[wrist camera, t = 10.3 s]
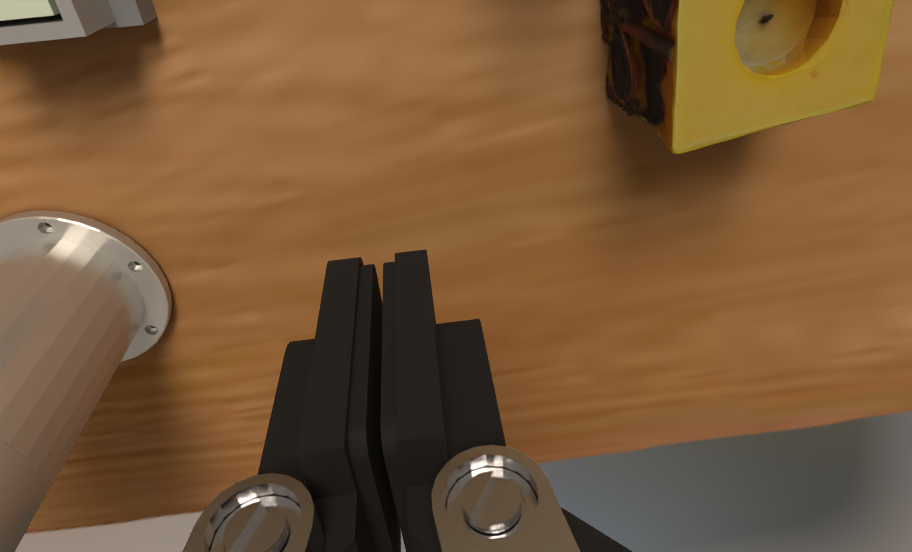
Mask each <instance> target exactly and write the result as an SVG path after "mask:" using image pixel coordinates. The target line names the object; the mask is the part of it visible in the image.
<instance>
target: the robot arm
mask: <svg viewBox="0 0 912 552" xmlns="http://www.w3.org/2000/svg"><path fill="white" fill-rule="evenodd" d="M171 310H172V299H171V292H170V289H169V286H168V283H167V280H166V278H165V276H164V274H163V273H162V271H161V269H160V268H159V266H158V265H157V263H156V262H155V261H154V260H153V259H152V258H151V257H150V255H149V254H148V253H147V252H146V251H145V250H144V249H143V248H141V247H140V246H139V245H138V244H137V243H135V242H134V241H133V240H132V239H130V238H129V237H127V236H126V235H124V234H122V233H121V232H119V231H117V230H116V229H114V228H112V227H110V226H108V225H105V224H103V223H101V222H99V221H96V220H94V219H90V218H87V217H84V216H80V215H77V214H73V213H66V212H59V211H29V212H23V213H17V214H13V215H11V216H8V217H6V218H3V219H1V220H0V552H15V550H16V548H17V546H18V545H19V543H20V541H21V539H22V537H23V536H24V534H25V532H26V530H27V528H28V527H29V525H30V523H31V521H32V519H33V518H34V516H35V514H36V512H37V510H38V509H39V507H40V505H41V503H42V502H43V500H44V498H45V496H46V495H47V493H48V491H49V489H50V487H51V485H52V484H53V482H54V480H55V479H56V477H57V475H58V473H59V471H60V470H61V468H62V466H63V464H64V462H65V461H66V459H67V457H68V455H69V454H70V452H71V450H72V448H73V446H74V445H75V443H76V441H77V439H78V437H79V436H80V434H81V432H82V430H83V428H84V427H85V425H86V423H87V421H88V419H89V418H90V416H91V414H92V412H93V411H94V409H95V407H96V405H97V403H98V402H99V400H100V398H101V396H102V394H103V393H104V391H105V389H106V387H107V385H108V384H109V382H110V380H111V378H112V376H113V375H114V373H115V371H116V369H117V368H118V366H119V364H120V362H123V361H126V360H129V359H132V358H135V357H137V356H139V355H141V354H142V353H144V352H146V351H148V350H149V349H150V348H151V347H152V346H153V345H154V344H155V343H157V342H158V340H159V339H160V337H161V335H162V334H163V332H164V331H165V329H166V326H167V324H168V322H169V320H170V316H171ZM400 528H401V529H400ZM401 532H402V536H403V540H404V544H405V549H406V552H632V551H630V550H628V549H627V548H626V547H624V546H622V545H621V544H619V543H618V542H616V541H614V540H613V539H611V538H610V537H608V536H606V535H604V534H603V533H601V532H600V531H598V530H597V529H595V528H593V527H592V526H590V525H589V524H587V523H585V522H584V521H582V520H580V519H579V518H577V517H576V516H574V515H573V514H571V513H569V512H568V511H566V510H565V509H563V508H561V507H560V505H559V503H558V501H557V498H556V496H555V494H554V492H553V489H552V487H551V485H550V483H549V481H548V478H547V477H546V475H545V474H544V472H543V471H542V469H541V468H540V466H539V465H538V464H537V463H536V462H535V461H533V460H532V459H531V458H530V457H528V456H527V455H526V454H524V453H522V452H520V451H517V450H515V449H513V448H510V447H506V444H505V439H504V434H503V429H502V424H501V419H500V414H499V410H498V405H497V400H496V395H495V390H494V385H493V380H492V375H491V370H490V366H489V361H488V356H487V351H486V346H485V341H484V336H483V331H482V327H481V322H480V320H479V319H474V320H466V321H457V322H449V323H441V324H436V320H435V312H434V304H433V296H432V289H431V281H430V273H429V265H428V258H427V251H426V250H418V251H410V252H401V253H395V262H388V263H384V264H383V304H382V299H381V294H380V289H379V283H378V278H377V273H376V268H375V265H374V264H371V265H363V261H362V259H361V257H359V258H350V259H342V260H333V261H328V263H327V268H326V274H325V280H324V286H323V292H322V298H321V305H320V311H319V317H318V323H317V329H316V335H315V339H309V340H301V341H293V342H290V343H289V344H288V345H287V348H286V351H285V355H284V359H283V364H282V368H281V373H280V377H279V382H278V386H277V391H276V395H275V400H274V404H273V409H272V413H271V418H270V422H269V427H268V431H267V436H266V440H265V444H264V449H263V453H262V458H261V462H260V467H259V471H258V475H254V476H252V477H249V478H247V479H244V480H241V481H239V482H236V483H235V484H233V485H232V486H230V487H229V488H227V489H226V490H224V491H223V492H221V493H220V494H219V495H218V496H217V497H216V498H215V499H214V500H213V501H212V502H211V503H210V504H209V505H208V506H207V507H206V508H205V509H204V511H203V513H202V514H201V516H200V518H199V519H198V521H197V522H196V524H195V526H194V528H193V530H192V532H191V534H190V537H189V539H188V541H187V543H186V546H185V547H184V550H183V552H401V535H400V534H401Z"/></svg>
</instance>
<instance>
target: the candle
mask: <svg viewBox="0 0 912 552" xmlns="http://www.w3.org/2000/svg"><path fill="white" fill-rule="evenodd" d="M893 1H894V0H601V5H602V8H601V22H602V27H603V28H604V29H605V31H604V32H603V35H602V38H603V39H604V40H605V41H607V42H608V43H609V46H610V54H609V69H608V73H607V77H606V81H607V86H606V90H607V94H608V98H610V99H611V101H613V102H614V103H615V104H616V105H617V104H619V107H623V110H625V111H626V112H627V115H630V116H634V117H636V118H638V119H642V120H644V121H647V122H649V123H650V124H651V125H652V126H653V127H654V128H655V129H656V132H657V136H658V137H659V138H660V139H661V140H662V141H663V142H664V144H665V146H666V148H667V149H668V150H669V151H670V152H672V153H675V154H680V153H684V152H688V151H692V150H696V149H699V148H702V147H706V146H709V145H712V144H716V143H720V142H723V141H727V140H731V139H734V138H738V137H741V136H744V135H747V134H751V133H754V132H758V131H761V130H765V129H769V128H772V127H776V126H780V125H783V124H787V123H791V122H795V121H799V120H803V119H807V118H810V117H814V116H818V115H822V114H826V113H830V112H834V111H839V110H844V109H848V108H853V107H856V106H859V105H862V104H865V103H868V102H872V101H874V97H875V93H876V90H877V86H878V82H879V76H880V71H881V65H882V60H883V54H884V49H885V44H886V39H887V32H888V26H889V21H890V16H891V11H892V6H893Z"/></svg>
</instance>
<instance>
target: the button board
mask: <svg viewBox="0 0 912 552" xmlns="http://www.w3.org/2000/svg"><path fill="white" fill-rule="evenodd" d="M55 2H56V5H57V7H58V9H59V12H60V13H59V14H56V15H53V16H43V17H33V18H23V19H13V20H3V21H0V45H7V44H17V43H27V42H37V41H47V40H56V39H66V38H76V37H86V36H88V35H90V34H92V33H94V32H96V31H98V30H100V29H109V28H118V27H128V26H138V25H145V24H146V23H148V22H150V21H151V20H153V19H155V18H157V16H156V14H155V11H154V8H153V5H152V2H151V0H55Z"/></svg>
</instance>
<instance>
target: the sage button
mask: <svg viewBox="0 0 912 552" xmlns="http://www.w3.org/2000/svg"><path fill="white" fill-rule="evenodd" d="M59 13H60V12H59V9H58V7H57V5H56V2H55V0H0V21H3V20H13V19H23V18H33V17H43V16H53V15H56V14H59Z"/></svg>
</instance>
